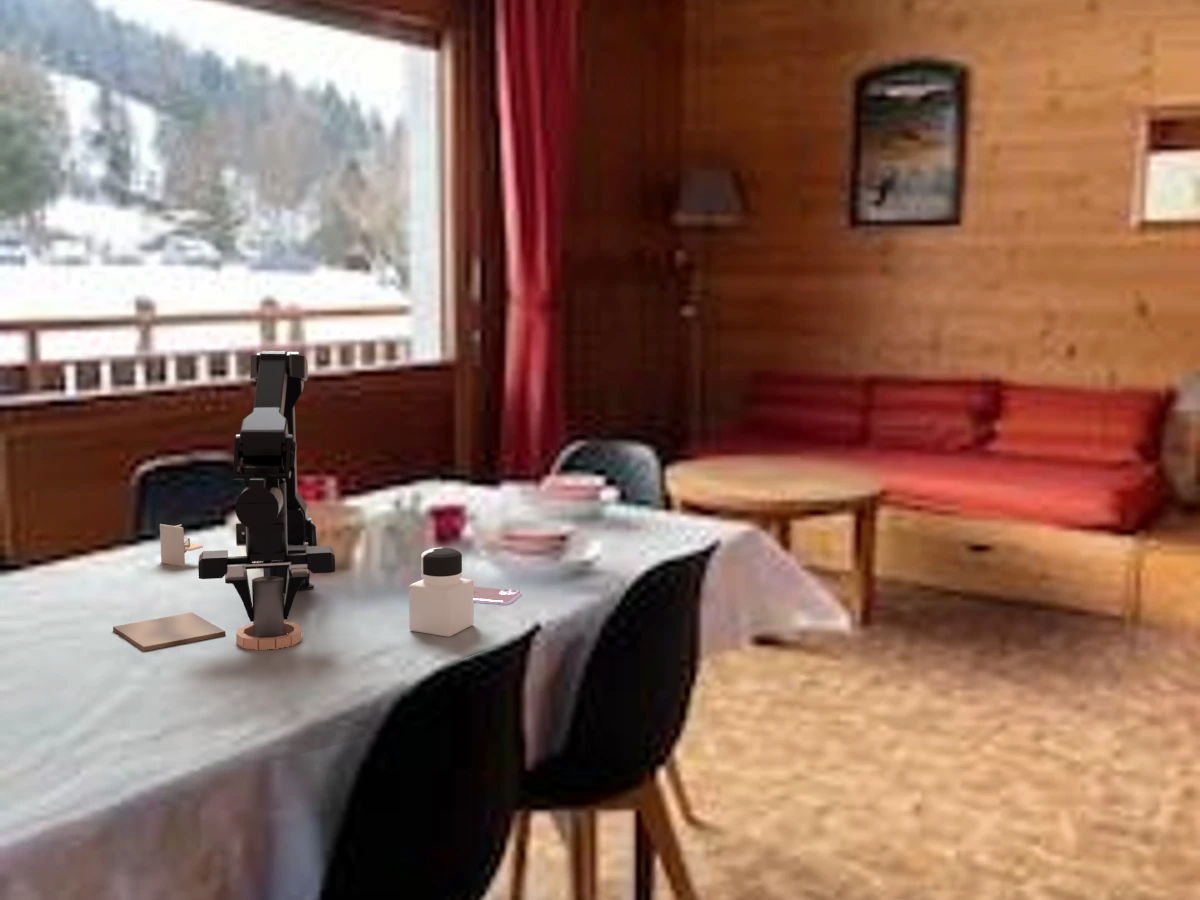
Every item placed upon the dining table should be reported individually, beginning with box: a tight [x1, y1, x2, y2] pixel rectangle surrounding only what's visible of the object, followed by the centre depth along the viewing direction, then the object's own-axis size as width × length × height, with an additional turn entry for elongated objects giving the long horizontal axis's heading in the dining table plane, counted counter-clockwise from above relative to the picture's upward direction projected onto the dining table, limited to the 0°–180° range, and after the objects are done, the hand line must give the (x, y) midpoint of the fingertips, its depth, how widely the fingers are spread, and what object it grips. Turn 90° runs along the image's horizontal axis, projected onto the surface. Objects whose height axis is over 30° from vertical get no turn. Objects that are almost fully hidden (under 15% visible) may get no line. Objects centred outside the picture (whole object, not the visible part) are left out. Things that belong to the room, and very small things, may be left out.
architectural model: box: [159, 523, 204, 567], centre depth 227 cm, size 3×7×7 cm, turn 63°
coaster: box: [112, 612, 226, 652], centre depth 187 cm, size 12×12×1 cm
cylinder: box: [251, 575, 286, 638], centre depth 183 cm, size 4×4×9 cm
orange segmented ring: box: [235, 621, 303, 651], centre depth 184 cm, size 9×9×2 cm
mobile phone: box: [474, 586, 522, 606], centre depth 209 cm, size 8×1×15 cm
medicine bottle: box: [408, 547, 475, 638], centre depth 190 cm, size 7×7×12 cm
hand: (268, 620), depth 184 cm, fingers closed on cylinder, 4 cm apart
